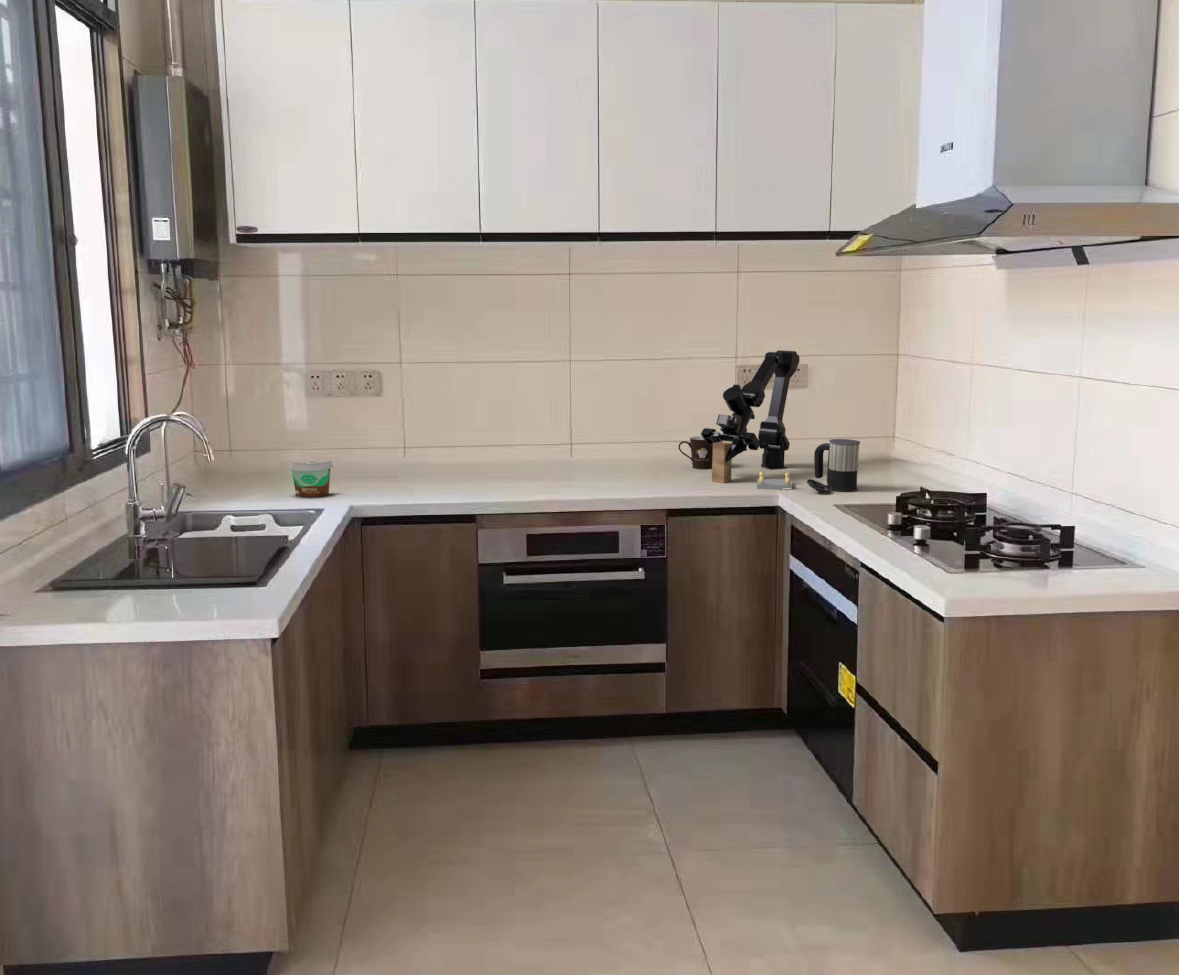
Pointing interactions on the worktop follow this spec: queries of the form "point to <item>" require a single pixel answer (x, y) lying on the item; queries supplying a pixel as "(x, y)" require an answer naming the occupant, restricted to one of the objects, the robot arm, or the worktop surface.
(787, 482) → the peg stand
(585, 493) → the worktop surface
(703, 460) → the coffee mug
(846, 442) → the milk frother
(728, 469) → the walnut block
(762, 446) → the robot arm
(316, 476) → the food container
